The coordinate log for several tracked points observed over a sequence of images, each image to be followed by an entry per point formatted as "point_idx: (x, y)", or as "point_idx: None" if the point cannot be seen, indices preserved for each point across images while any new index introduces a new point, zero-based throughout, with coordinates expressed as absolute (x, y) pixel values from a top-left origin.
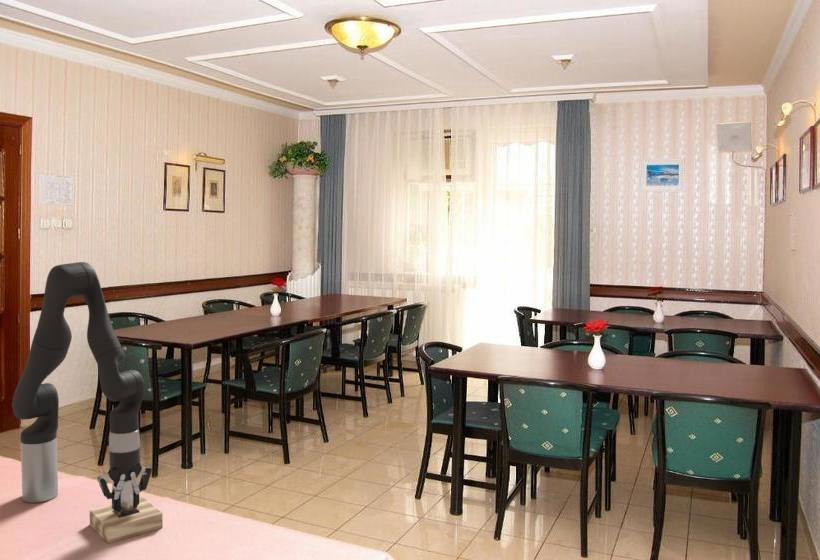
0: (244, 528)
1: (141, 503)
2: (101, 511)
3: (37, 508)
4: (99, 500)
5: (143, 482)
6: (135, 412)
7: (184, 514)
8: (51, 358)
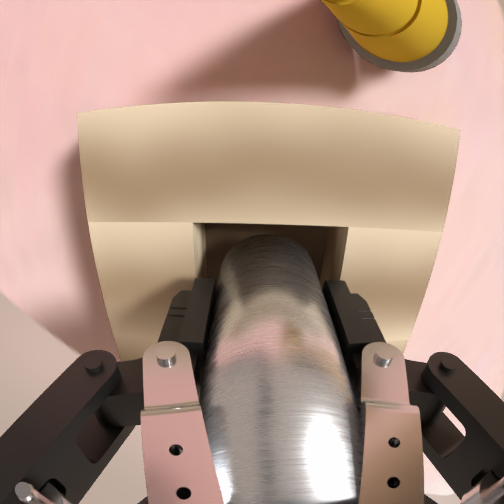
0: (463, 427)
1: (402, 236)
2: (134, 185)
3: None
4: None
5: (429, 455)
6: None
7: (480, 292)
8: None
